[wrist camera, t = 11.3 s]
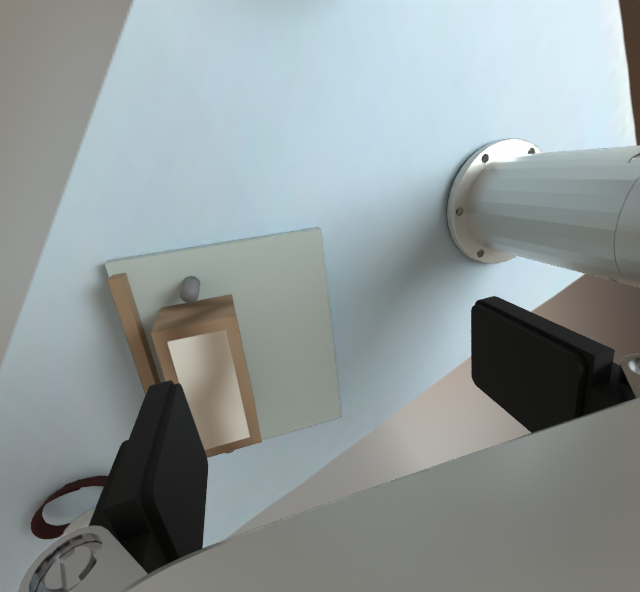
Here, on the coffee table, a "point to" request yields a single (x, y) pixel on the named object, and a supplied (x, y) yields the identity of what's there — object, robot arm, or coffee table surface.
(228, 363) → the wooden box
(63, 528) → the watch
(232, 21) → the coffee table surface
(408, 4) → the coffee table surface
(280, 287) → the wall board
